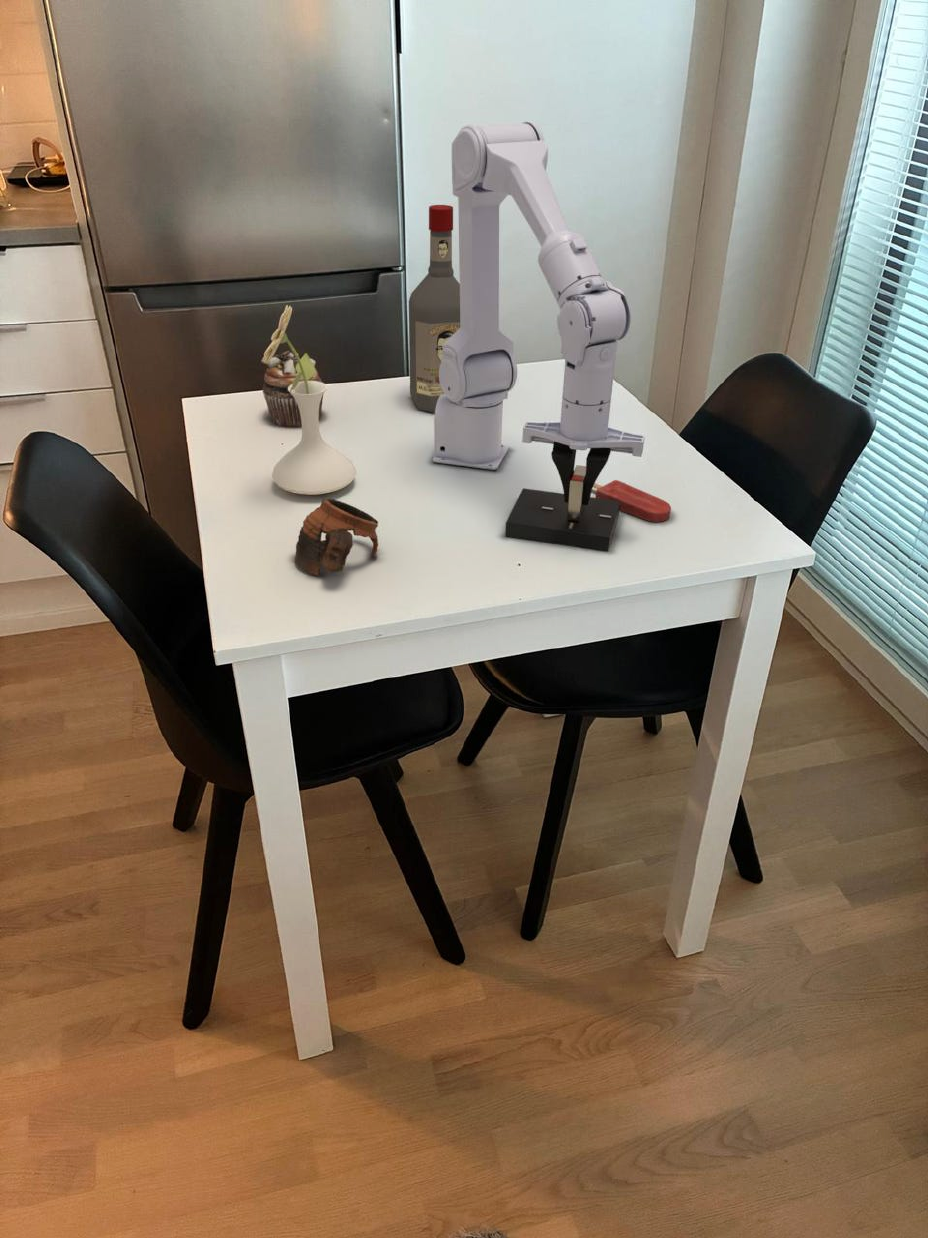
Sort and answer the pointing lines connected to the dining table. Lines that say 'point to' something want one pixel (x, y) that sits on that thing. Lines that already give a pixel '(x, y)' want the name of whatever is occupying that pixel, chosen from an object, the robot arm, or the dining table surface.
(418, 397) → the liquor
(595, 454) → the robot arm
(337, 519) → the pottery mug
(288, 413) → the cupcake
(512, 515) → the knob box
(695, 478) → the dining table surface
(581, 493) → the knob
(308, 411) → the flower in vase
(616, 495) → the popsicle
